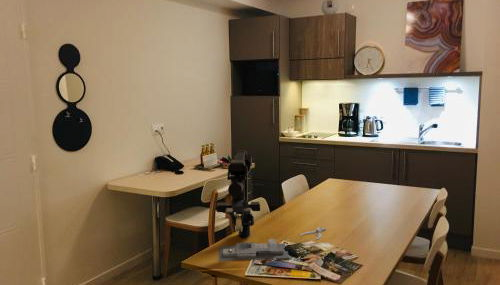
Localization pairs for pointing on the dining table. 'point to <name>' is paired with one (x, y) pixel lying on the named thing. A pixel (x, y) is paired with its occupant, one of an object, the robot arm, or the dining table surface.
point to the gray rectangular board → (252, 257)
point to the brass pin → (238, 222)
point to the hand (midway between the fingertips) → (238, 226)
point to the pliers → (316, 231)
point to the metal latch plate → (256, 247)
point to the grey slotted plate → (247, 255)
